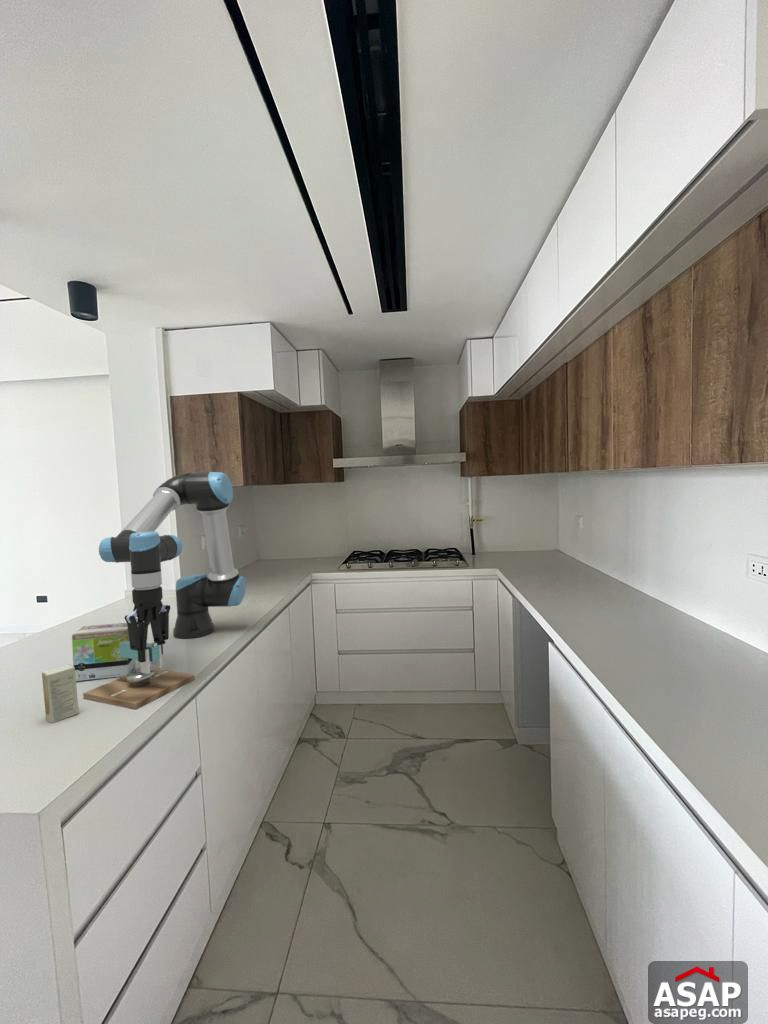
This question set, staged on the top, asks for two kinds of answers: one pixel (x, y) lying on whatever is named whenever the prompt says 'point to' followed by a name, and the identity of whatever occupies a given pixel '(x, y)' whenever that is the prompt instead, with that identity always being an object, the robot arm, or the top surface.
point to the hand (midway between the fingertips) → (151, 669)
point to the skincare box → (60, 693)
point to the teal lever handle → (133, 654)
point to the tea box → (100, 652)
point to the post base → (138, 689)
